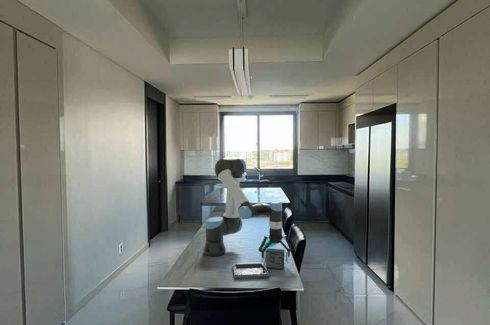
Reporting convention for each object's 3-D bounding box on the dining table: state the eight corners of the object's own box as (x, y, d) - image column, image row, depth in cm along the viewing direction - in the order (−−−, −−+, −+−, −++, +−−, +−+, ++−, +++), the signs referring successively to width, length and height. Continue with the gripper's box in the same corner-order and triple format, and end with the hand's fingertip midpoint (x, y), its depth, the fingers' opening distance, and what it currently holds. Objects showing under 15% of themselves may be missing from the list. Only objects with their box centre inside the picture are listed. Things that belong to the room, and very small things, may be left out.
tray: (234, 279, 176) (234, 274, 176) (232, 267, 193) (232, 263, 192) (268, 278, 178) (268, 273, 177) (263, 266, 195) (264, 262, 194)
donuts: (270, 243, 207) (258, 240, 213) (270, 258, 208) (258, 255, 214) (279, 240, 215) (267, 237, 221) (279, 254, 215) (267, 251, 222)
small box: (284, 266, 195) (284, 249, 195) (282, 270, 189) (283, 252, 189) (267, 264, 198) (267, 247, 198) (265, 268, 192) (265, 250, 191)
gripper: (255, 229, 187) (255, 265, 188) (297, 228, 190) (297, 264, 191) (254, 226, 195) (254, 261, 196) (294, 225, 197) (294, 259, 198)
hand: (275, 262), depth 193 cm, fingers open, 13 cm apart
